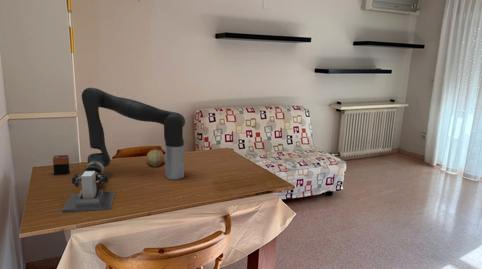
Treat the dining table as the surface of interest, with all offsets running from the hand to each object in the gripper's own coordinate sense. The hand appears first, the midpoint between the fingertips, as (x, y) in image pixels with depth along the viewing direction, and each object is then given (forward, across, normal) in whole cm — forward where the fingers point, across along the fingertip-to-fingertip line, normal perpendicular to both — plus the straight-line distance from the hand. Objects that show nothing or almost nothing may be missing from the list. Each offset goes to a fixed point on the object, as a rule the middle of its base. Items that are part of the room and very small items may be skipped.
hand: (88, 184), depth 142 cm
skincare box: (-2, 0, +8) cm, 8 cm away
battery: (-40, -19, +9) cm, 45 cm away
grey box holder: (-2, 0, +9) cm, 9 cm away
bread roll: (-51, +28, +9) cm, 59 cm away
